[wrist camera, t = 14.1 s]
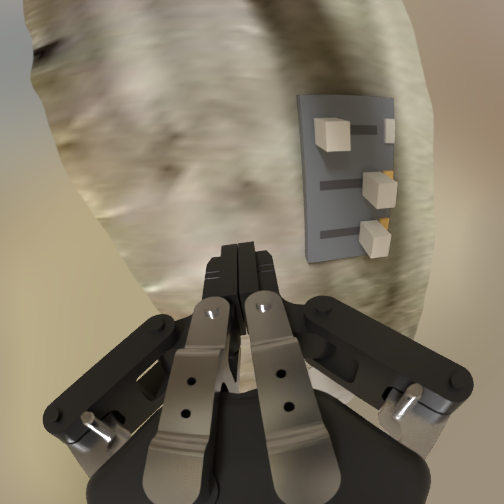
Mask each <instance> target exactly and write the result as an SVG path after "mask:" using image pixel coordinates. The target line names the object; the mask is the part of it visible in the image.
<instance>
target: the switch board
mask: <svg viewBox="0 0 504 504" xmlns="http://www.w3.org/2000/svg"><path fill="white" fill-rule="evenodd" d="M297 106H298V116H299V128H300V141H301V155H302V171H303V191H304V216H305V257H306V260H307V262H308V263H314V262H321V261H328V260H335V259H342V258H349V257H356V256H363V255H368V254H367V252H366V251H365V249H364V248H363V247H362V245H361V244H360V242H359V234H360V223H361V221H371V220H378V221H379V222H380V223H381V224H382V226H383V227H384V228H385V229H386V230H387V231H388V224H389V211H390V208H382V209H376V208H375V207H374V206H373V205H372V204H371V203H370V202H369V201H368V200H367V199H366V198H365V197H364V196H362V190H363V172H382V173H384V174H385V175H387V176H388V177H390V178H391V179H393V160H394V143H395V120H394V98H386V97H375V96H359V95H297ZM314 118H339V119H343V120H346V121H350V145H351V151H332V152H327V151H325V150H324V149H322V148H321V147H319V146H317V145H316V144H315V128H314Z"/></svg>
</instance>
